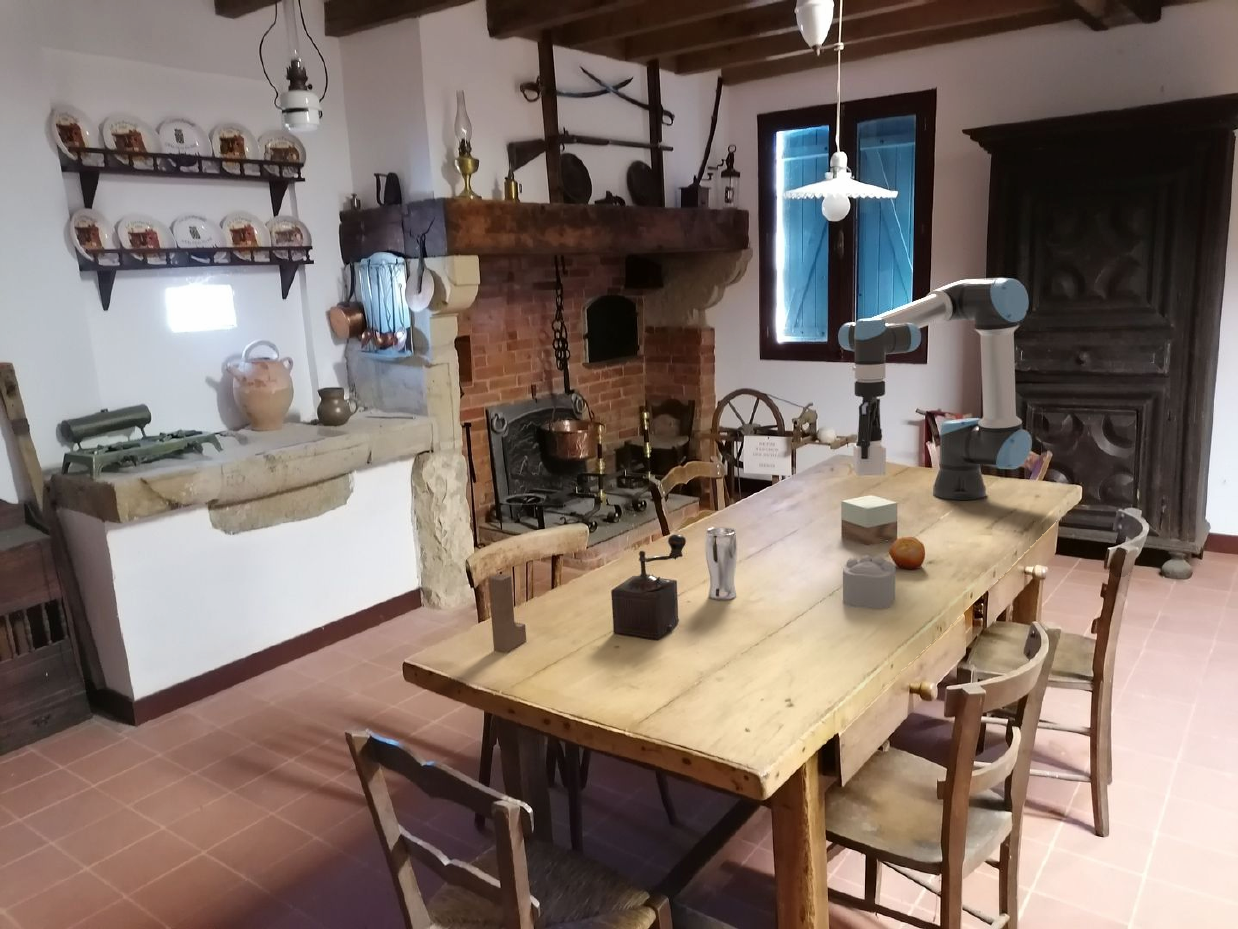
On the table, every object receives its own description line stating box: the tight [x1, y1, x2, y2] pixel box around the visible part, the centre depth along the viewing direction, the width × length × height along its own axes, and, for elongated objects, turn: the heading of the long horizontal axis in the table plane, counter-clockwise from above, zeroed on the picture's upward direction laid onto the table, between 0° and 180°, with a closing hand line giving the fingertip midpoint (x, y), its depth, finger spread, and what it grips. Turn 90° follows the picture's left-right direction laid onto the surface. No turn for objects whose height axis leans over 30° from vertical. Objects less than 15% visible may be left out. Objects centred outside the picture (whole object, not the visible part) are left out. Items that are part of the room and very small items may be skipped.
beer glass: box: [704, 526, 738, 601], centre depth 203 cm, size 7×7×15 cm
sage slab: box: [840, 494, 898, 528], centre depth 240 cm, size 10×10×5 cm
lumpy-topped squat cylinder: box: [842, 554, 896, 610], centre depth 198 cm, size 10×13×9 cm
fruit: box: [888, 536, 926, 570], centre depth 217 cm, size 8×8×8 cm
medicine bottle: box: [852, 426, 887, 476], centre depth 236 cm, size 7×7×12 cm
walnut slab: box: [840, 519, 898, 546], centre depth 241 cm, size 10×10×5 cm
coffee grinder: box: [610, 534, 687, 641], centre depth 188 cm, size 16×11×18 cm
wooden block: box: [487, 573, 527, 654], centre depth 181 cm, size 7×3×15 cm, turn 149°
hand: (869, 467), depth 237 cm, fingers closed on medicine bottle, 9 cm apart
